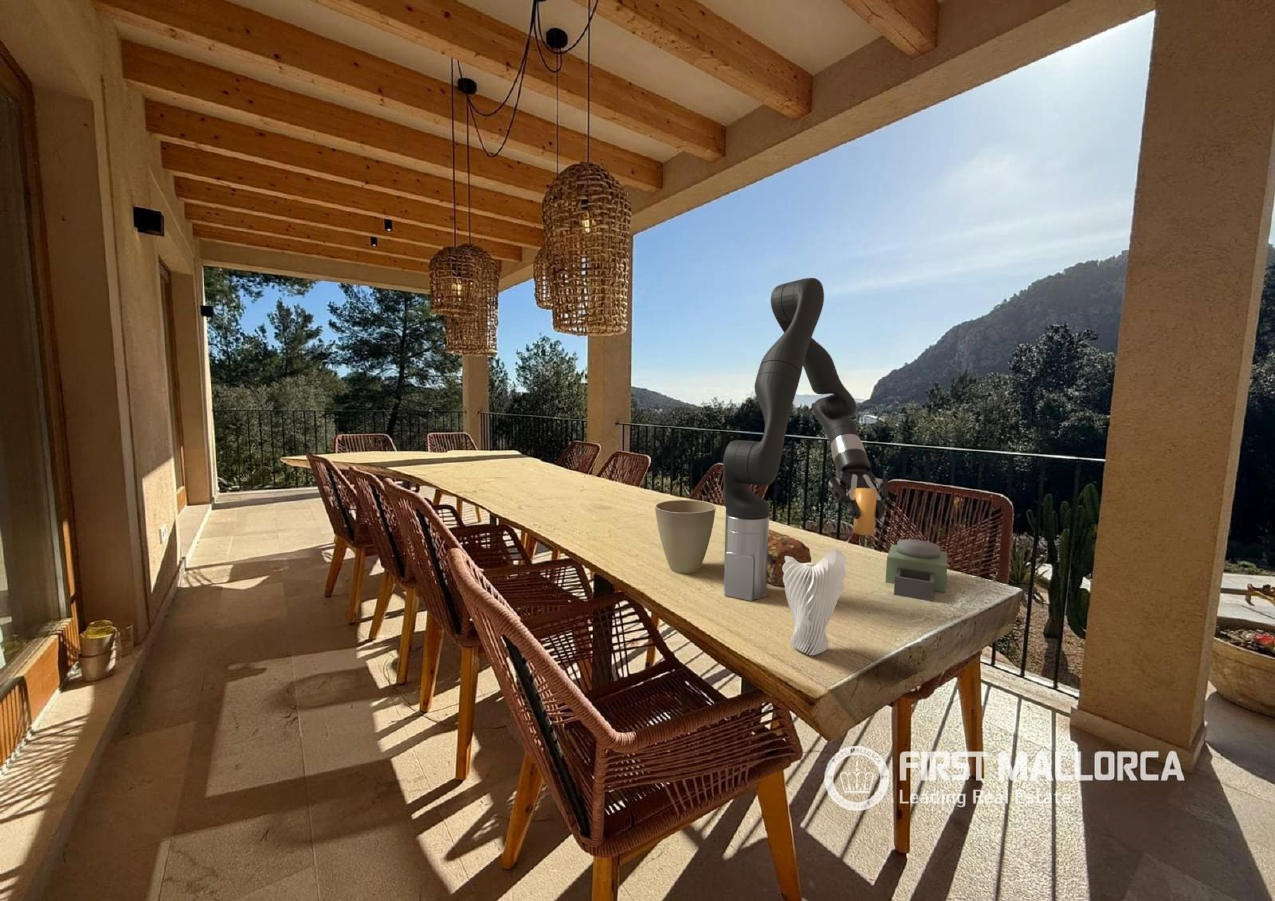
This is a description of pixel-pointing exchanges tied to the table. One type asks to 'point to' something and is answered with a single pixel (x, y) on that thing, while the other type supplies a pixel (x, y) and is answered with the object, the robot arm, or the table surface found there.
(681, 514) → the plant pot
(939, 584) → the green two-tone box
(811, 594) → the white ribbed vase
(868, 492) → the amber pillar candle
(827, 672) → the table surface
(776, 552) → the bread
